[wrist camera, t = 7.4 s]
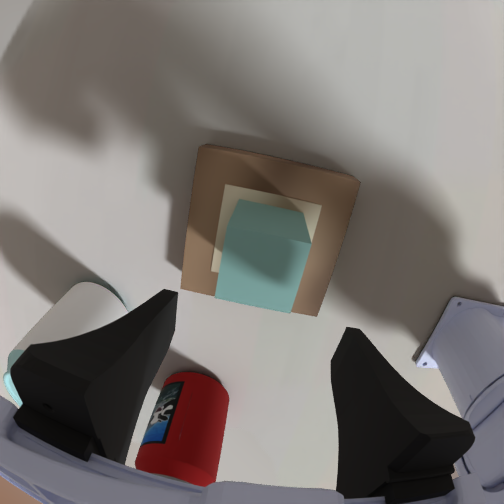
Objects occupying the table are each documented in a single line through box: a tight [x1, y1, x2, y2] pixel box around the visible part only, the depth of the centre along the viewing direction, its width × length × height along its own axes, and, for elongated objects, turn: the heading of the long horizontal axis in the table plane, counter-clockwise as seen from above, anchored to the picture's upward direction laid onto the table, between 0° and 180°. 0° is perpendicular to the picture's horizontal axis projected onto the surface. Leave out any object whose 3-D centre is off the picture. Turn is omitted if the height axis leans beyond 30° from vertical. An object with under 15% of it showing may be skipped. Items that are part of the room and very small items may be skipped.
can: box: [3, 282, 128, 407], centre depth 21 cm, size 7×7×12 cm
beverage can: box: [135, 372, 229, 487], centre depth 24 cm, size 7×7×12 cm
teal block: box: [215, 199, 312, 313], centre depth 18 cm, size 4×4×5 cm
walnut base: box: [181, 144, 361, 317], centre depth 21 cm, size 10×10×2 cm
